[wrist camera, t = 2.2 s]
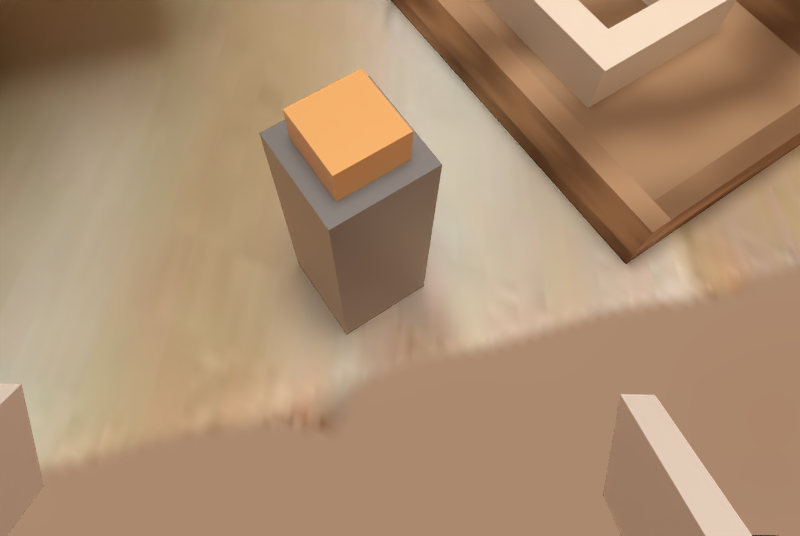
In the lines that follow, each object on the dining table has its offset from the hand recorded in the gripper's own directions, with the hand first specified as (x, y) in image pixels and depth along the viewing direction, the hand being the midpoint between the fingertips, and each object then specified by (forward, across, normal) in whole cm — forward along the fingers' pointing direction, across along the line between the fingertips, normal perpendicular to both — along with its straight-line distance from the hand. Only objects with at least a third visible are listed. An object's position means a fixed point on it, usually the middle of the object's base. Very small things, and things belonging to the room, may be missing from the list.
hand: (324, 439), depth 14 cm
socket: (+29, +13, +9) cm, 33 cm away
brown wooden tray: (+29, +13, +9) cm, 33 cm away
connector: (+18, 0, -3) cm, 18 cm away
